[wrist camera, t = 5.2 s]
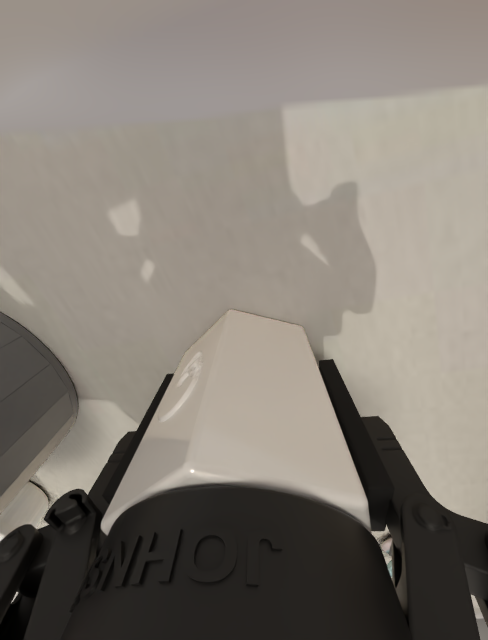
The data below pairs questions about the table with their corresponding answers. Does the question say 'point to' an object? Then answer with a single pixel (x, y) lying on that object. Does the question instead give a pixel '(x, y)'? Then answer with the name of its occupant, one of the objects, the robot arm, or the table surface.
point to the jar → (240, 508)
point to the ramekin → (24, 509)
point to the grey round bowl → (29, 407)
